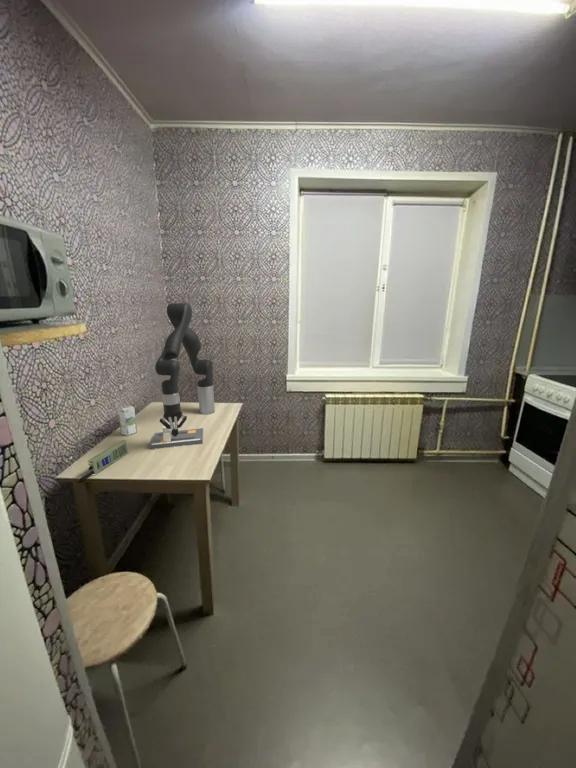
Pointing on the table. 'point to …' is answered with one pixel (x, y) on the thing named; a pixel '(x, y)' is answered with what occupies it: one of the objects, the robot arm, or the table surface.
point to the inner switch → (165, 429)
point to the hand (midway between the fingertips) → (175, 435)
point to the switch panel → (178, 439)
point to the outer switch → (167, 436)
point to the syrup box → (127, 420)
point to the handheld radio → (106, 458)
